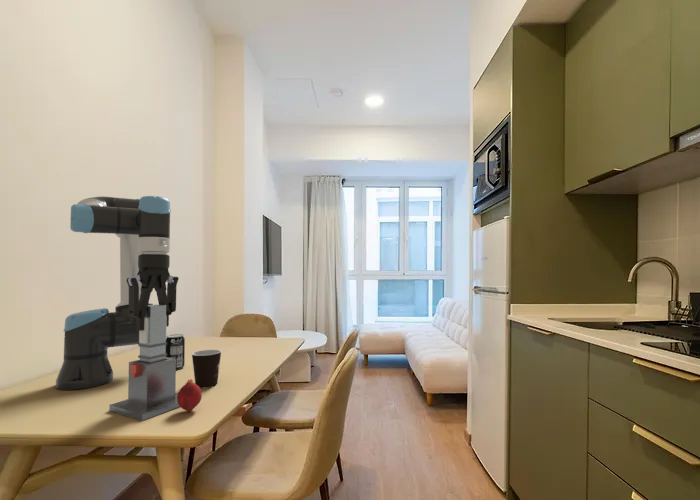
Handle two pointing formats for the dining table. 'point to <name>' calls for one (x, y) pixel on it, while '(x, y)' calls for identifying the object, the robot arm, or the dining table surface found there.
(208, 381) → the coffee mug
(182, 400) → the onion
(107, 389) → the dining table surface
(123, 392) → the dining table surface
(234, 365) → the dining table surface
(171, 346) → the beverage can
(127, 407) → the stand
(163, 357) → the column
